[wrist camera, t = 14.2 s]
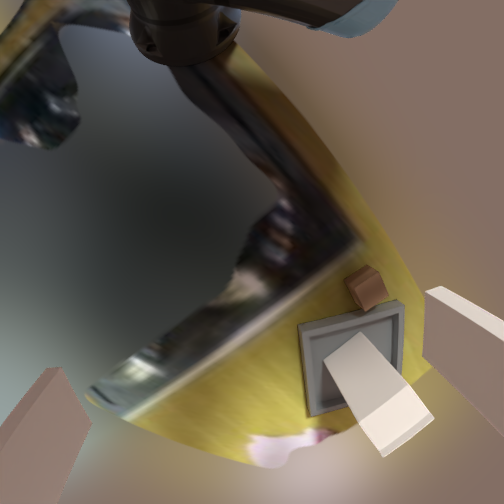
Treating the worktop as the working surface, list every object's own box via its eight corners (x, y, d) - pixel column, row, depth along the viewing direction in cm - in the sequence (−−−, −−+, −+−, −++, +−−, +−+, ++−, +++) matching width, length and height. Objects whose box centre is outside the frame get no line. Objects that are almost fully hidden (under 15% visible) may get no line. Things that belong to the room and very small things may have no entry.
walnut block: (343, 279, 43) (354, 288, 39) (366, 264, 42) (378, 271, 39) (354, 301, 43) (365, 311, 40) (376, 286, 43) (388, 295, 39)
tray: (297, 324, 43) (301, 332, 41) (396, 299, 44) (404, 305, 42) (307, 407, 47) (310, 416, 44) (393, 381, 47) (400, 388, 45)
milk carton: (322, 359, 44) (370, 446, 26) (359, 330, 44) (426, 403, 25) (344, 385, 46) (393, 467, 27) (379, 358, 45) (441, 430, 27)
